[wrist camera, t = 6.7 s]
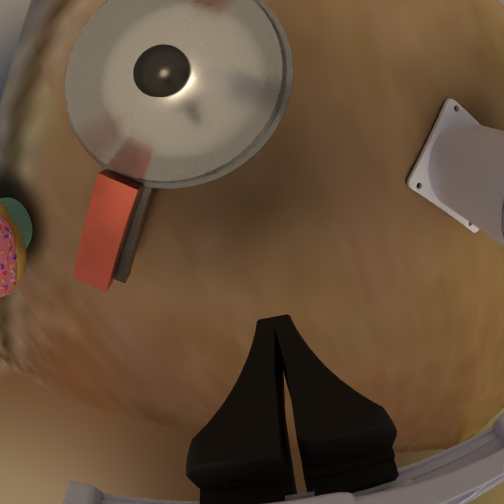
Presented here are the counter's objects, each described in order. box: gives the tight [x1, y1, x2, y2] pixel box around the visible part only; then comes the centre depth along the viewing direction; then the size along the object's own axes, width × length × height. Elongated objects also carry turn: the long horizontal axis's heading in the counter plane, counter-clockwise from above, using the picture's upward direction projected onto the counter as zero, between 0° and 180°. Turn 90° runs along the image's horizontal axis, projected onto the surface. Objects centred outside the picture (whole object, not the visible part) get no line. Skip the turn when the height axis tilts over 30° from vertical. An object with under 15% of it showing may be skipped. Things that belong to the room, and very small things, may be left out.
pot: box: [65, 0, 293, 283], centre depth 16 cm, size 13×23×4 cm, turn 156°
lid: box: [65, 0, 282, 292], centre depth 13 cm, size 23×11×2 cm, turn 153°
